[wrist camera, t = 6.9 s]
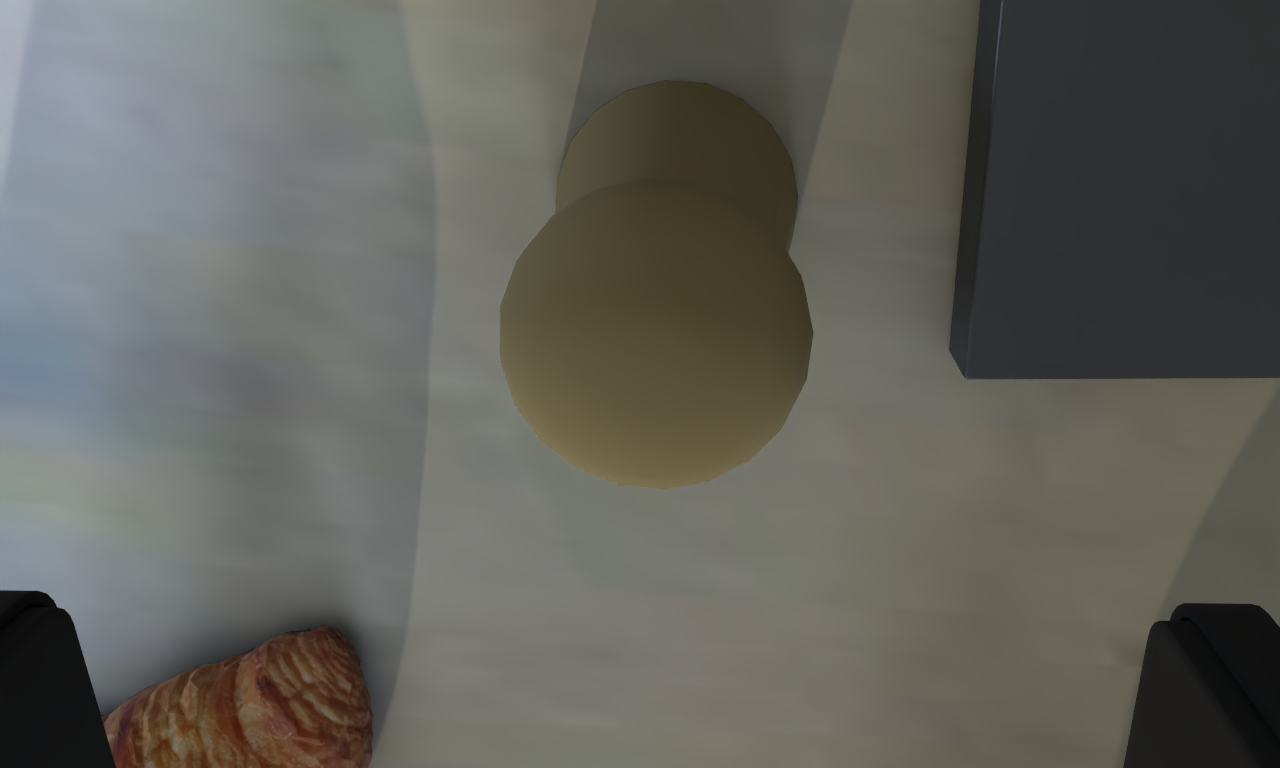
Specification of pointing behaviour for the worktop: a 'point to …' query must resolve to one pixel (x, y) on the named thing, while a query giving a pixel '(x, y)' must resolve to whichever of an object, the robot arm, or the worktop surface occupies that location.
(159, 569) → the worktop surface
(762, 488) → the worktop surface
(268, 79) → the worktop surface
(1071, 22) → the scale
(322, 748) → the pastry
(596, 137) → the cork
